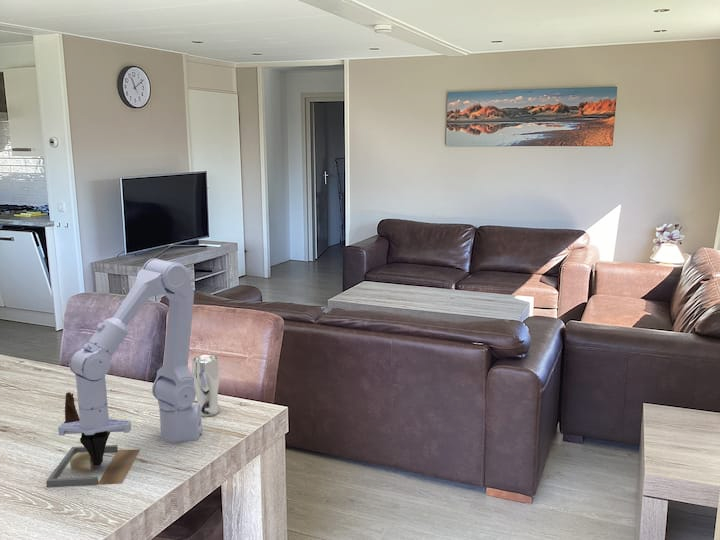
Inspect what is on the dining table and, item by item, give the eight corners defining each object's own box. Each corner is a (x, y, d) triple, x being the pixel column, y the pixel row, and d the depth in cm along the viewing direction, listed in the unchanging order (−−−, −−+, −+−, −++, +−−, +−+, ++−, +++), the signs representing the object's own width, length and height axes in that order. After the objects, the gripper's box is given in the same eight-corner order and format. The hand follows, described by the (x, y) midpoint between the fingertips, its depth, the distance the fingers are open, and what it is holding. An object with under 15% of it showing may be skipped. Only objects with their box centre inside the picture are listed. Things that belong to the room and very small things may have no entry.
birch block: (97, 466, 140) (95, 451, 139) (91, 474, 136) (89, 459, 136) (78, 467, 140) (76, 452, 139) (71, 476, 136) (70, 460, 135)
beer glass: (224, 407, 172) (222, 354, 169) (216, 418, 165) (213, 363, 162) (199, 406, 173) (196, 353, 170) (190, 417, 166) (187, 362, 163)
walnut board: (140, 454, 146) (140, 449, 146) (122, 489, 131) (122, 483, 131) (118, 455, 146) (117, 450, 145) (97, 490, 131) (97, 484, 131)
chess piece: (67, 436, 155) (63, 398, 153) (59, 430, 159) (55, 392, 157) (86, 430, 158) (82, 392, 156) (78, 424, 162) (74, 387, 160)
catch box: (118, 455, 146) (117, 444, 145) (97, 490, 131) (96, 478, 130) (73, 457, 145) (72, 446, 144) (47, 492, 130) (46, 481, 130)
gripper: (50, 413, 131) (56, 474, 133) (122, 411, 132) (127, 471, 134) (63, 400, 137) (68, 458, 140) (131, 397, 139) (136, 455, 141)
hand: (98, 463), depth 138 cm, fingers closed
